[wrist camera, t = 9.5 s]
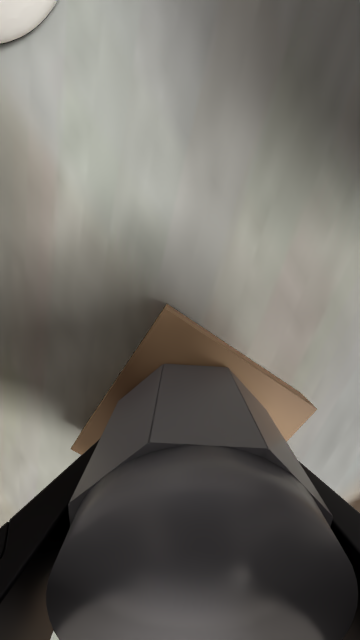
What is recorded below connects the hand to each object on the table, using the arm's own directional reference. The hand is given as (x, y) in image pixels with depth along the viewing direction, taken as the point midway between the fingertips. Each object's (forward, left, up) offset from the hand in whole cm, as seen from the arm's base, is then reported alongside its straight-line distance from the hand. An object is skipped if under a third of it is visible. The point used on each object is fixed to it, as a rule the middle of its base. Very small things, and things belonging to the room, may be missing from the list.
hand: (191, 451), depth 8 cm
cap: (0, 0, -1) cm, 1 cm away
